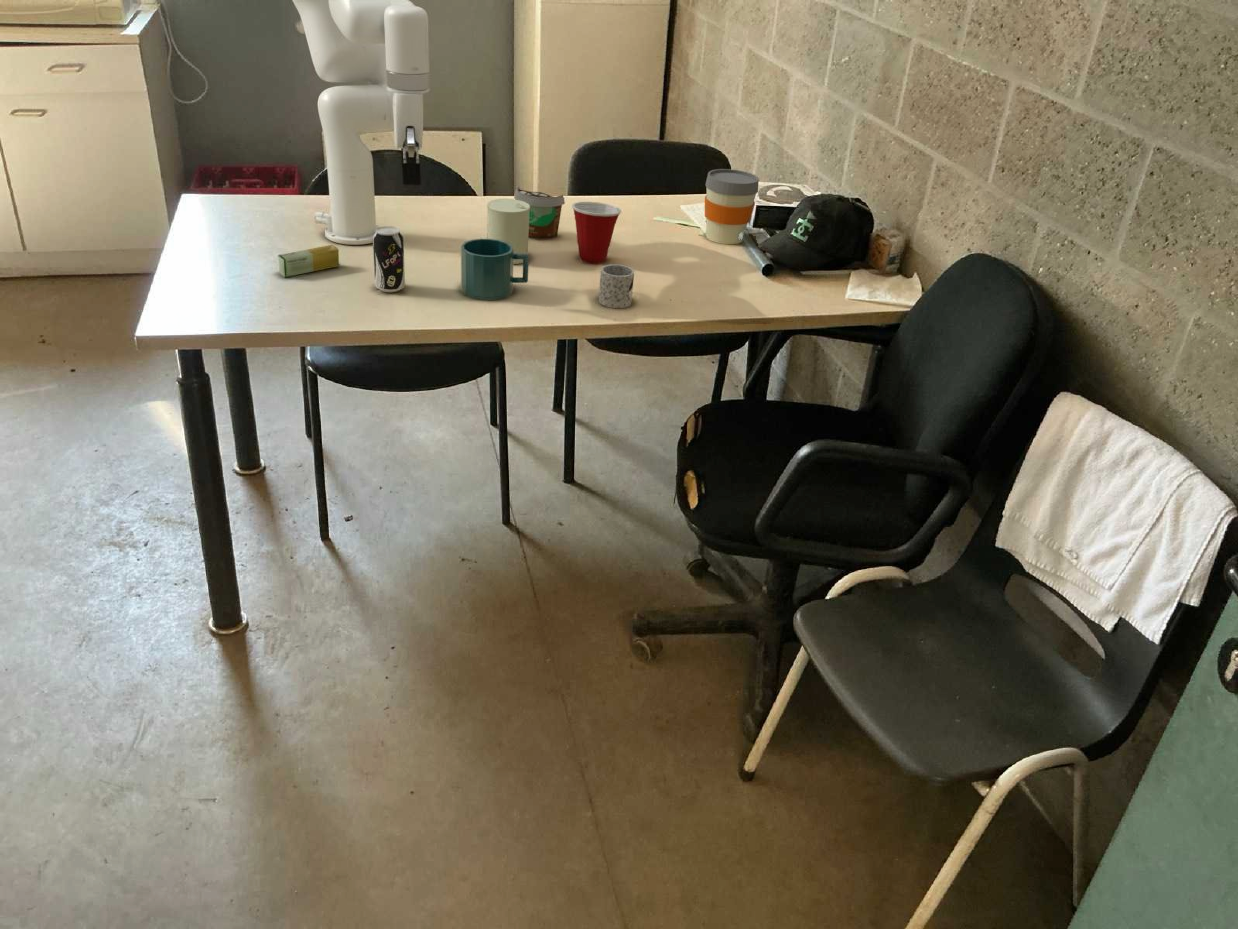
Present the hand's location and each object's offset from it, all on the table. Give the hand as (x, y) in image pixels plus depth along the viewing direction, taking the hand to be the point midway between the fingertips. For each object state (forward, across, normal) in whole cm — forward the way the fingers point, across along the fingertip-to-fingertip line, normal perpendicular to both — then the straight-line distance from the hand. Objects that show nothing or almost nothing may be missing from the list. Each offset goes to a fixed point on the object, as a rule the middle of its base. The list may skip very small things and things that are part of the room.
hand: (411, 176), depth 183 cm
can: (+22, -16, +20) cm, 34 cm away
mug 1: (+22, +3, +16) cm, 27 cm away
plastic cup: (+22, -16, +39) cm, 48 cm away
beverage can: (+22, +2, -5) cm, 22 cm away
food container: (+22, -31, +28) cm, 47 cm away
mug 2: (+22, +7, +39) cm, 46 cm away
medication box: (+22, -8, -20) cm, 31 cm away
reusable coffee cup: (+22, -31, +75) cm, 84 cm away
